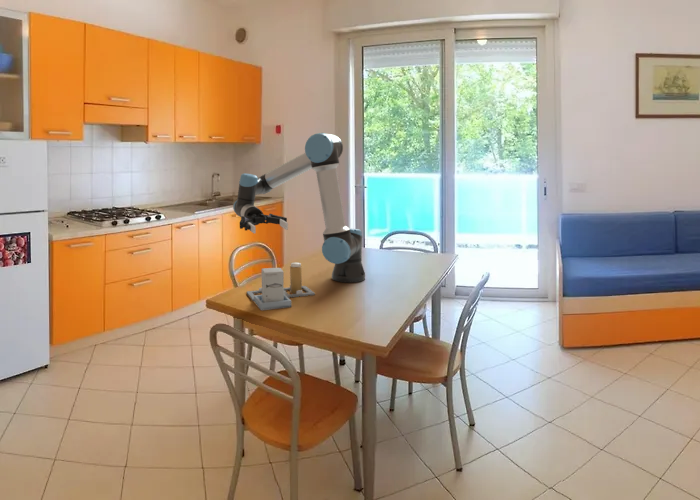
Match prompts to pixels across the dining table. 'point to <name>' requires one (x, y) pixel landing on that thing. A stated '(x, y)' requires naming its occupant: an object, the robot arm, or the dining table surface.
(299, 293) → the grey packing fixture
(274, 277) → the supplement box
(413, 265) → the dining table surface
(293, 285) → the amber bottle
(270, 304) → the tray
